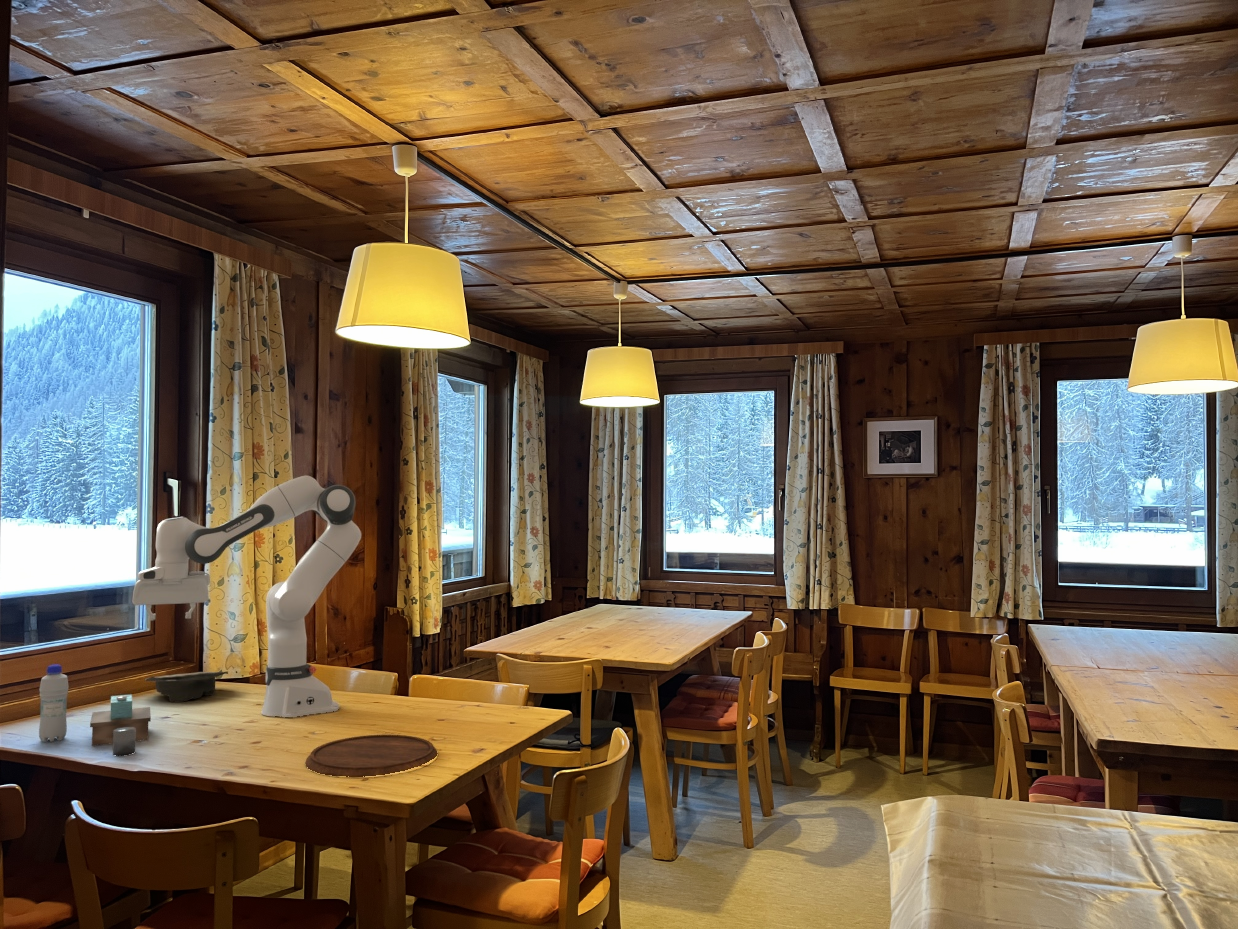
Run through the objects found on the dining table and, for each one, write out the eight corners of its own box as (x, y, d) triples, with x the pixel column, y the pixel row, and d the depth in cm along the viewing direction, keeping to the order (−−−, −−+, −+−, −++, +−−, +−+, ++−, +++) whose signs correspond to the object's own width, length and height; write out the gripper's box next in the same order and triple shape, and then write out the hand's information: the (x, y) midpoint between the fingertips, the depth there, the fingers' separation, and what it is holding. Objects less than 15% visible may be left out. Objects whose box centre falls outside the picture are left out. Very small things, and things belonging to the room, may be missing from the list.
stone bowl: (186, 706, 281) (184, 676, 281) (126, 706, 290) (125, 677, 290) (245, 690, 304) (243, 662, 305) (188, 690, 313) (187, 663, 313)
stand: (149, 728, 255) (150, 707, 255) (150, 740, 242) (150, 717, 243) (91, 734, 248) (92, 712, 248) (89, 746, 236) (90, 723, 236)
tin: (135, 749, 233) (135, 726, 234) (135, 754, 229) (135, 730, 229) (112, 752, 231) (113, 728, 231) (112, 757, 227) (113, 733, 227)
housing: (131, 711, 250) (131, 691, 250) (131, 717, 242) (132, 697, 243) (110, 712, 248) (111, 693, 248) (110, 720, 240) (111, 699, 240)
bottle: (36, 744, 238) (38, 667, 238) (39, 738, 244) (41, 663, 244) (66, 741, 241) (68, 665, 242) (68, 735, 247) (70, 661, 248)
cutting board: (408, 783, 208) (408, 772, 208) (279, 776, 213) (279, 765, 214) (455, 746, 240) (456, 736, 240) (342, 740, 245) (342, 731, 245)
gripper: (209, 570, 275) (208, 616, 275) (133, 572, 266) (131, 620, 265) (211, 571, 270) (209, 618, 269) (133, 574, 260) (131, 622, 260)
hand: (170, 619), depth 267 cm, fingers open, 8 cm apart
